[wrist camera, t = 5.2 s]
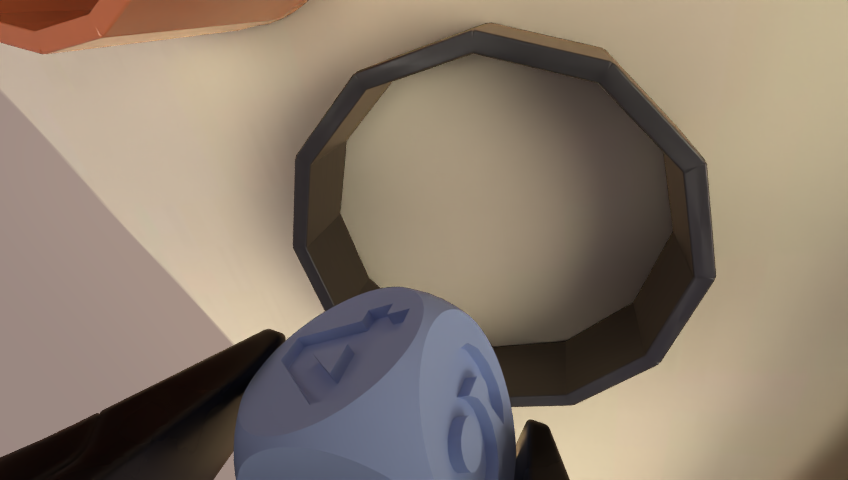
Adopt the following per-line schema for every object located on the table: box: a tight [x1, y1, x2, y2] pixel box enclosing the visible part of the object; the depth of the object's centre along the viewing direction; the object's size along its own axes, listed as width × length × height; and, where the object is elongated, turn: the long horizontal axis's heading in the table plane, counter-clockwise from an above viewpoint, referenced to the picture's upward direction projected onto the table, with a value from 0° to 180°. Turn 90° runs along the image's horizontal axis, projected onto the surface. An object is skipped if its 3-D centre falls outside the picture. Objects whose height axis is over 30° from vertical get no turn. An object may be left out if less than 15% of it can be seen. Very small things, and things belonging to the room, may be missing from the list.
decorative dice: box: [234, 287, 516, 480], centre depth 9 cm, size 4×4×4 cm
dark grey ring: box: [293, 23, 716, 407], centre depth 17 cm, size 14×14×3 cm
